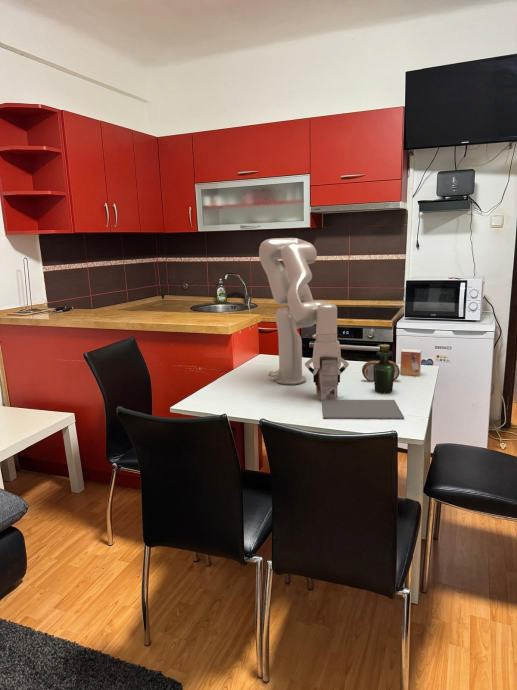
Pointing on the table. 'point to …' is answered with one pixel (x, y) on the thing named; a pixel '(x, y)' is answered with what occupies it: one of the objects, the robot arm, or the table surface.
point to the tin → (369, 372)
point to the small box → (410, 362)
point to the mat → (361, 409)
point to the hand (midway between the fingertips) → (326, 384)
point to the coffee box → (327, 378)
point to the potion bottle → (384, 371)
